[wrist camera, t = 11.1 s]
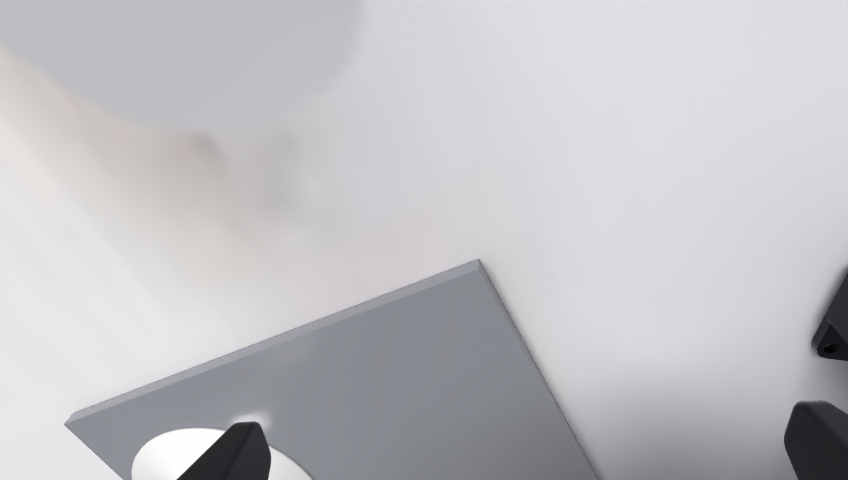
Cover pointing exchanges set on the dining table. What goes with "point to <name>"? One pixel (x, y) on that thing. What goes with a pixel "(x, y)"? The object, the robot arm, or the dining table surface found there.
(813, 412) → the robot arm
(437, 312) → the base plate
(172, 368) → the dining table surface
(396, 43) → the dining table surface
